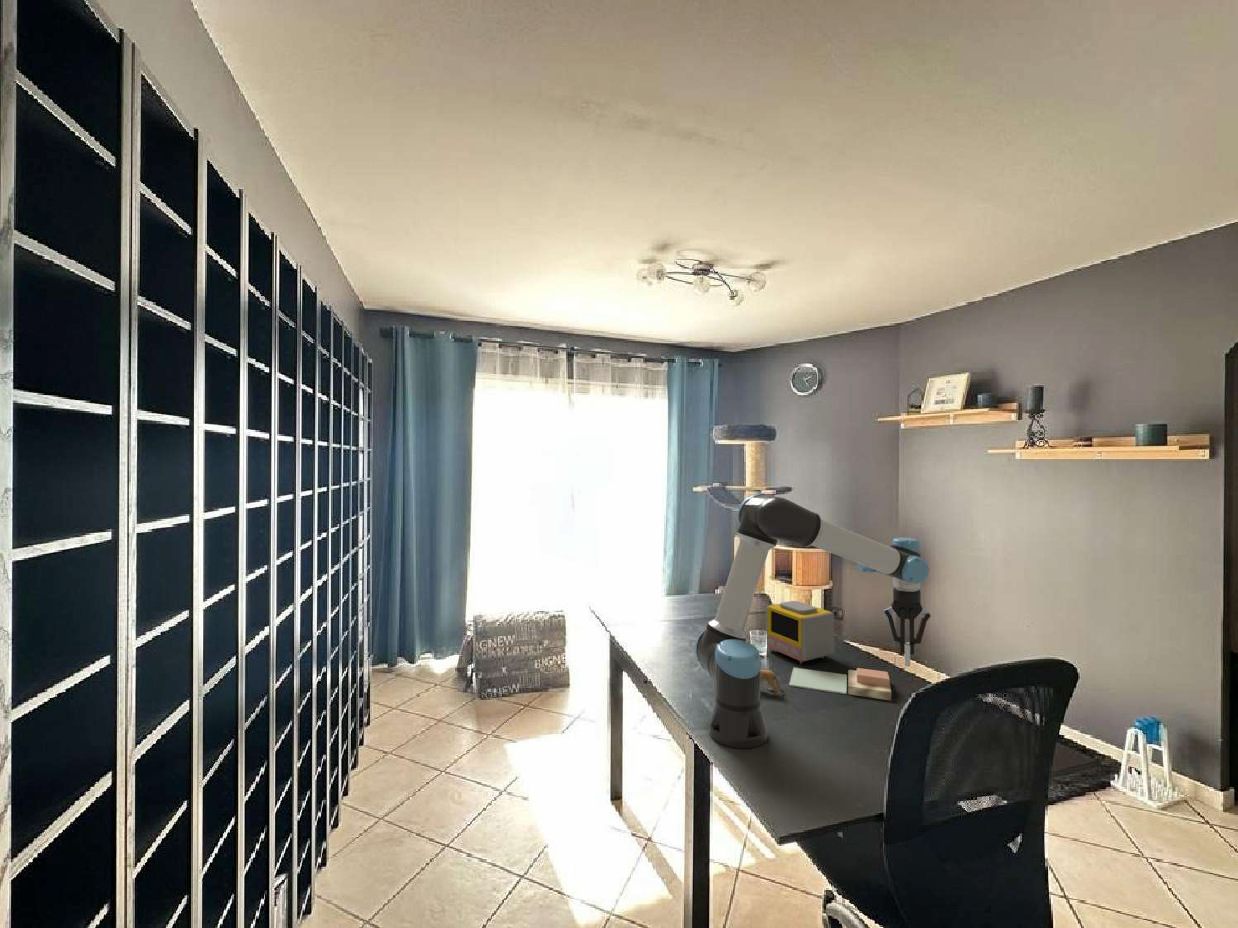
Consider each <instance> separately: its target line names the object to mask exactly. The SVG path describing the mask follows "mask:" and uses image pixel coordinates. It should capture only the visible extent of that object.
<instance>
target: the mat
mask: <svg viewBox="0 0 1238 928" xmlns="http://www.w3.org/2000/svg"><path fill="white" fill-rule="evenodd" d="M847 679H848V675H847V674H843V673H836V672H828V671H821V670H813V669H806V668H800V667H793V669H792V672H791V675H790V681H789V683H788V686H789V687H792V688H801V689H805V690H806V689H807V690H813V691H820V692H821V691H822V692H827V693H834V694H841V695H847V692H848V683H847V682H848V680H847Z"/></svg>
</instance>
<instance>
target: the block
mask: <svg viewBox="0 0 1238 928" xmlns="http://www.w3.org/2000/svg"><path fill="white" fill-rule="evenodd" d="M856 671H857V682H858V683H865V684H872V685H879V686H886V687H889V681H890V677H889V678H888V675H889V672H888V671H883V670H876V669H868V668H867V669H866V668H860V667H857V668H856Z"/></svg>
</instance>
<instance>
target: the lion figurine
mask: <svg viewBox="0 0 1238 928" xmlns="http://www.w3.org/2000/svg"><path fill="white" fill-rule="evenodd" d="M775 681H776V682H775ZM761 682H766V683H768V685H769V686H770V687H768V688H767V690H768V691H772V690H774V692H773V696H775V697H777V696H778V695H779V691H780V692H781V693H782V694H783V693H785V690H783V689H782V688H781V687H780V683H779V679H778V677H777V675H776V674H775V673H774V672H773V671H772V670H770V669H767V670H766V669H761V677H760V683H761ZM775 683H776V684H775ZM778 689H779V690H778Z"/></svg>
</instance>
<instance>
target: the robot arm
mask: <svg viewBox="0 0 1238 928" xmlns="http://www.w3.org/2000/svg"><path fill="white" fill-rule="evenodd" d="M740 503H741V504H740V505H739V507H738V510H737V520H738V522H739V526H738V529H737V531H736V534H737V536H738V538H739V544H738V546H737V549H736V553H735V554H734V555H735V556H734V559H733V562H732V563H731V568H730V571H729V574H728V577H727V579H726V580H727V581H726V584H725V587H724V589H723V593H722V596H721V599H720V602H719V605H718V608H717V610H716V611H717V612H716V615H715V617H714V618H713V619H711V620H709V621H707V625H706V628H704V630H703V631H701V632H700V633H698V636H697V637H696V640H695V643H694V653H695V656H696V659H697V661H698V662H699V665H700V666H701V667H702V668H703V669H704V670H705V671H706V672H707V673H708V674H709V676H711V677H712V679H713V680H714V681H715V703H714V708H713V709H712V713H711V716H710V719H709V724H708V726H709V727H708V733H709V735H710V737H711V738H712V739H713V740H714V741H716V742H717V743H719V744H721V745H724V746H726V747H730V748H734V749H735V748H736V749H752V748H757V747H760V746H762V745H763V744H765V742H767V739H768V727H767V723H766V721H765V718H764V717H765V716H764V714H763V711H762V707H761V681H760V677H761V670H762V662H761V655H760V651H759V650H758V648H757V647H756V646H755V645H753V644H751V643H750V642H746V641H747V637H748V636H747V634H746V631H745V626H746V623H747V620H748V617H749V613H750V610H751V607H752V604H753V600H754V597H755V595H756V591H757V588H758V585H759V582H760V579H761V575H762V573H763V569H764V566H765V563H766V560H767V557H768V554H769V551H770V550H772V549H774V548H776V546H777V544H778V541H784V542H788V543H792V544H796V545H799V546H802V547H805V548H808V547H810V546H812V547H815V548H818V549H820V550H823V551H825V552H828V553H830V554H833V555H836V556H838V557H841V558H844V559H846V560H849V561H851V562H854V563H855V564H856V565H857V568H858V569H859V570H860V572H863V573H879V574H882V575H884V576H888V577H892V586H893V587H894V588H893V589H892V596H893V597H892V598H893V599H892V603H891V604H890V605H891V606H890V607H888V608H887V607H885V608H884V609H883V611H884V614H885V616H886V617H887V620H888V622H889V626H890V630H891V634H892V637H893V641H894V642H897V643H898V644H899V652H900V655H903V664H904V666H905V667H911V656H914V654H915V646H916V645H917V644H918V645H919V644H921V643H922V640H923V636H924V632H925V629H926V626H927V622H928V621H929V619H930V618H931V613H930V612H929V611H926V610H925V609H923V606H922V603H921V597H922V596H921V593H922V592H921V590H920V589H921V584H922V583H923V582H925V581H926V580H927V579H928V577H929V573H930V567H929V564H928V563H927V561H926V560H925V559H924V558H922V557H921V556H922V552H921V543H920V541H919V540H918V539H916V538H914V537H913V538H912V537H896V538H893V540H892V545H891V544H890V545H886V544H883V543H881V542H879V541H877V540H874V539H871V538H868V537H866V536H864V535H861V534H860V533H856V532H854V531H851V530H849V529H846V528H844V527H840V526H839V525H836V524H833V523H831V522H829V521H826V520H823V519H822V517H821V515H820V514H819V513H817V512H814V511H811V510H809V509H807V508H805V507H803V506H801V505H799V504H797V503H795V502H793V501H791V500H789V499H787V498H783V497H780V496H779V497H778V496H775V495H770V494H765V493H760V494H752V495H750V496H748V497H746V498H745V499H744V500H743V501H742V502H740ZM894 612H895V615H896V616H897V617H898V618H899V636H898V633H897V629H896V626H895V623H894V622H895V621H894V618H893V614H894ZM919 615H920V617H921V618H920V622H919V624H918V629H917V633H916V636H915V620H916V619H917V618H918V616H919ZM906 619H907V620H908V642H907V641H906V639H905V638H906V629H905V627H906V624H905V623H906Z"/></svg>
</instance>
